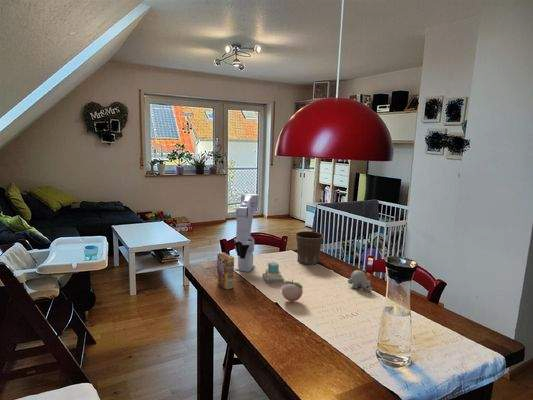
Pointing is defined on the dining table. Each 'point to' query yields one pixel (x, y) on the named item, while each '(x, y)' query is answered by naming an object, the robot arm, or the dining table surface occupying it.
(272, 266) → the teal cube
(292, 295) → the decorative fruit
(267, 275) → the top slab
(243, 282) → the dining table surface
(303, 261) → the plant pot
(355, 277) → the chubby cartoon animal
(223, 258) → the candy box
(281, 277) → the base slab
